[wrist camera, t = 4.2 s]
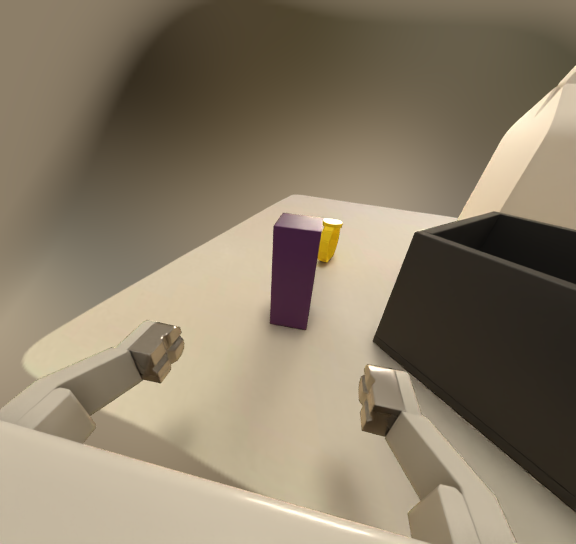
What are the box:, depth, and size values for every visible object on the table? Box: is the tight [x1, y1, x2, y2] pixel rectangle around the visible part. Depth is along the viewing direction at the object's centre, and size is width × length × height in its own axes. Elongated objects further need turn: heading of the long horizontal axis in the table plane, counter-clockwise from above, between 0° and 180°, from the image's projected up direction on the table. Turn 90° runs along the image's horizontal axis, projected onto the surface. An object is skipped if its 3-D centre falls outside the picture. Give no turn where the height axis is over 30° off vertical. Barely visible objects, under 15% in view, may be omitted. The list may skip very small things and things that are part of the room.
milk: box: [457, 66, 576, 230], centre depth 31 cm, size 12×12×26 cm
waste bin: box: [373, 211, 576, 511], centre depth 16 cm, size 15×15×11 cm
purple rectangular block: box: [270, 213, 323, 330], centre depth 20 cm, size 4×4×10 cm
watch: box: [318, 219, 343, 262], centre depth 33 cm, size 6×3×6 cm, turn 153°
